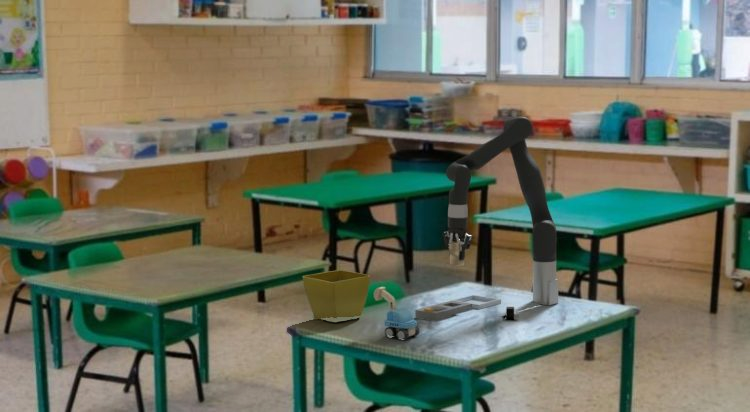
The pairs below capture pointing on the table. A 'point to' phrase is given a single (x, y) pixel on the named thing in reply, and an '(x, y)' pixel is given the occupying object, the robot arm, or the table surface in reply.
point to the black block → (510, 315)
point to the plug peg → (455, 254)
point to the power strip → (442, 310)
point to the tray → (479, 301)
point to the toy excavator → (397, 317)
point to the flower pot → (336, 293)
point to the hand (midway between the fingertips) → (457, 259)
